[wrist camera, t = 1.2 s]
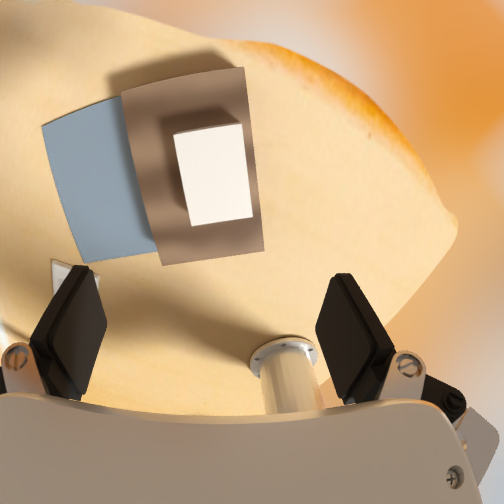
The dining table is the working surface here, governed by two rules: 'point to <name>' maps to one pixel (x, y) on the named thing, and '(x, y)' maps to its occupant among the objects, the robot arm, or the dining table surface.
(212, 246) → the brown flat block
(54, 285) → the external hard drive
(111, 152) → the mat
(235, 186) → the white foam block
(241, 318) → the dining table surface
